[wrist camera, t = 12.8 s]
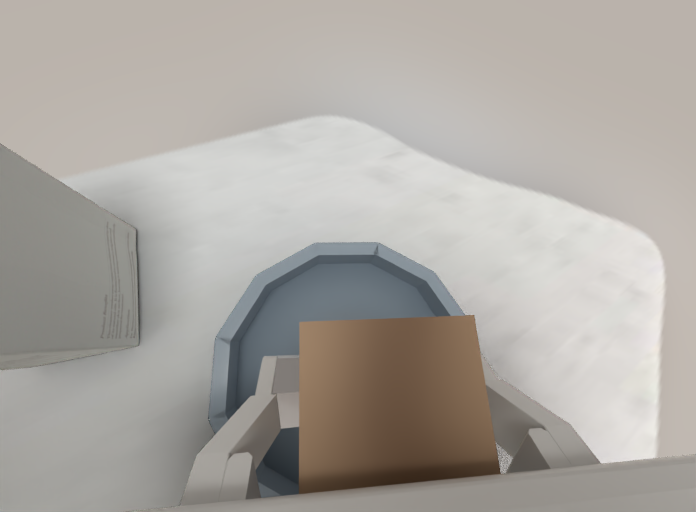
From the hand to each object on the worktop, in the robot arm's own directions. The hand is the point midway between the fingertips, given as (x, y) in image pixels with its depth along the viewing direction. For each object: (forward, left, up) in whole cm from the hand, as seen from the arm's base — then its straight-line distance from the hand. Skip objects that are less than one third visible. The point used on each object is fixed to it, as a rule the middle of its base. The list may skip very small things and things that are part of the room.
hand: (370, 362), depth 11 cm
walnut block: (0, -1, -4) cm, 4 cm away
